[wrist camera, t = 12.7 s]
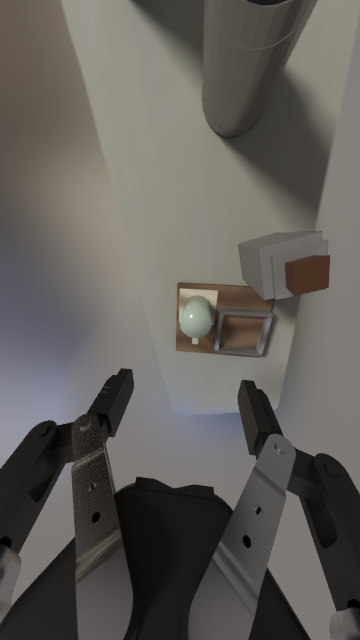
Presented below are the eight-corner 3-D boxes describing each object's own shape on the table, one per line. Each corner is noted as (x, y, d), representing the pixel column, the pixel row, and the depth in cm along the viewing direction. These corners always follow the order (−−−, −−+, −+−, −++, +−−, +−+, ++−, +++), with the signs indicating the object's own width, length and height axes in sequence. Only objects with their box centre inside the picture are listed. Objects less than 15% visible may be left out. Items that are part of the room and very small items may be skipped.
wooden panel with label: (178, 282, 38) (176, 286, 35) (274, 287, 36) (280, 291, 33) (176, 348, 45) (175, 355, 42) (256, 354, 43) (260, 362, 41)
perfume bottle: (275, 232, 32) (353, 229, 16) (278, 269, 35) (346, 299, 18) (237, 244, 33) (273, 251, 17) (242, 278, 36) (277, 313, 20)
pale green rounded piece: (211, 295, 37) (212, 310, 30) (208, 328, 40) (209, 349, 33) (184, 294, 37) (180, 309, 30) (184, 327, 41) (180, 347, 34)
